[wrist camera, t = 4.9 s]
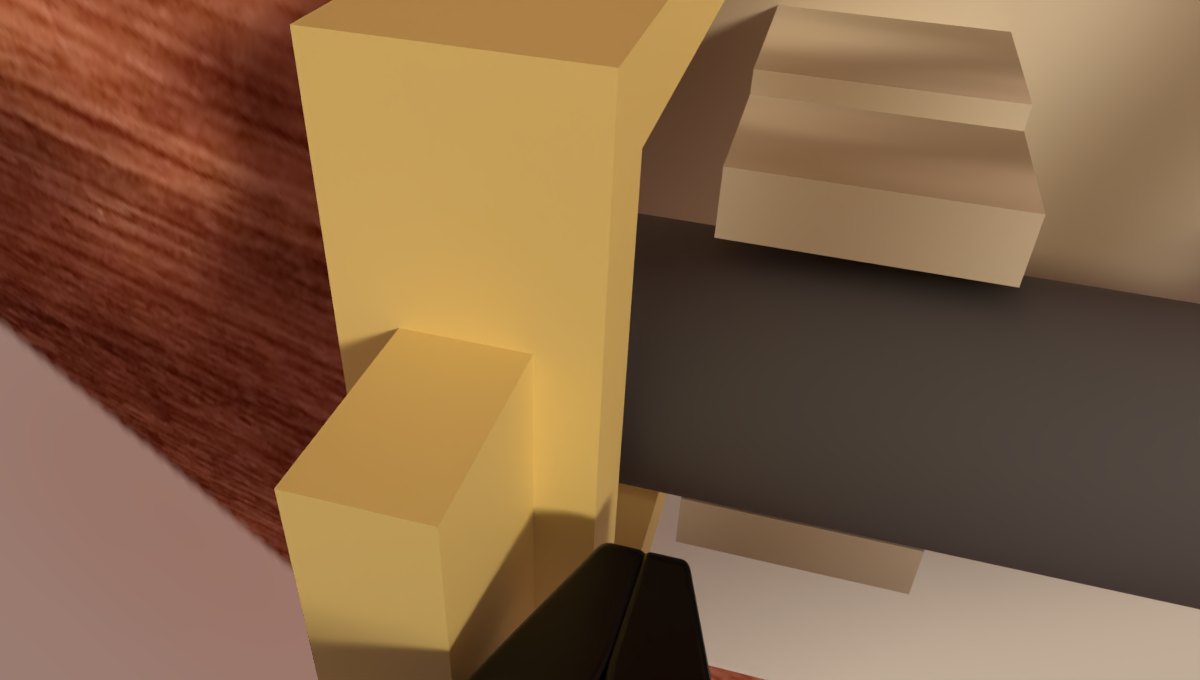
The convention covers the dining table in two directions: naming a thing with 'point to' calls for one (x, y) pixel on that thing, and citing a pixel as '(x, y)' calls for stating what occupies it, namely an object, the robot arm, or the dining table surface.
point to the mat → (928, 622)
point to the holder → (935, 167)
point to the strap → (472, 313)
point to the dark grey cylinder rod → (920, 407)
